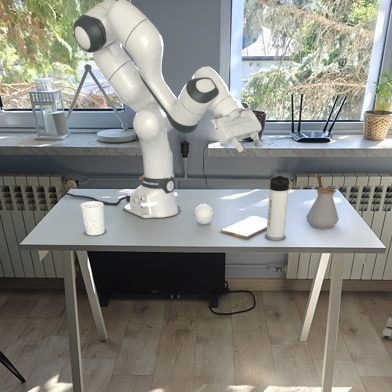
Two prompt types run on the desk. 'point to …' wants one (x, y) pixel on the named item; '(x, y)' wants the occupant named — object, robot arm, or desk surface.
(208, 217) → the seamed sphere
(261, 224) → the white flat rectangular slab
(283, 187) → the travel mug
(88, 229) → the white cup
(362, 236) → the desk surface
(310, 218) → the coffee pot
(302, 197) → the desk surface
